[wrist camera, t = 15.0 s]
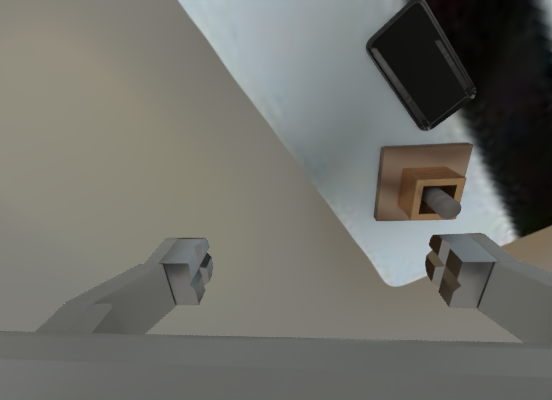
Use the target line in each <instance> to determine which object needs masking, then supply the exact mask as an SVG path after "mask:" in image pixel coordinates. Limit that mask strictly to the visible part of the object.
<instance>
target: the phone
mask: <svg viewBox="0 0 552 400" xmlns="http://www.w3.org/2000/svg"><path fill="white" fill-rule="evenodd" d="M366 51H367V53H368V54H369V56H370V57H371V59H372V60H373V62H374V63H375V65H376V66H377V67H378V69H379V70H380V72H381V73H382V75H383V76H384V78H385V79H386V81H387V82H388V83H389V85H390V86H391V88H392V89H393V91H394V92H395V94H396V95H397V96H398V98H399V99H400V101H401V102H402V104H403V105H404V107H405V108H406V109H407V111H408V112H409V114H410V115H411V117H412V118H413V120H414V121H415V123H416V124H417V125H418V127H419V128H420V129H422V130H426V131H428V130H431V129H433V128H434V127H436V126H437V125H438V124H440V123H441V122H442V121H444V120H445V119H446V118H448V117H449V116H451V115H452V114H453V113H455V112H456V111H457V110H459V109H460V108H462V107H463V106H464V105H466V104H467V103H468V102H470V101H471V100H472V99H473V98H474V97H475V95H476V87H475V85H474V84H473V82H472V80H471V79H470V77H469V75H468V73H467V72H466V70H465V68H464V66H463V65H462V63H461V61H460V60H459V58H458V56H457V54H456V53H455V51H454V49H453V47H452V46H451V44H450V42H449V41H448V39H447V37H446V35H445V34H444V32H443V30H442V28H441V27H440V25H439V23H438V21H437V20H436V18H435V16H434V15H433V13H432V11H431V9H430V8H429V6H428V4H427V2H426V1H425V0H411V1H410V2H408V3H407V4H406V6H404V7H403V8H402V9H401V10H400V11H399V12H398V13H397V14H396V15H395V16H394V17H392V18H391V19H390V20H389V21H388V22H387V23H386V24H385V25H384V26H383V27H382V28H381V29H380V30H379V31H378V32H377V33H375V34H374V35H373V36H372V37H371V38H370V39H369V41H368V42H367V45H366Z"/></svg>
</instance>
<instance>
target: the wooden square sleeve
mask: <svg viewBox="0 0 552 400" xmlns="http://www.w3.org/2000/svg"><path fill="white" fill-rule="evenodd" d="M465 181H466V178H465V177H463V176H462V175H460V174H458V173H456V172H455V171H453V170H451V169H449V168H448V167H446V166H442V167H421V168H403V171H402V178H401V185H400V193H399V200H398V205H399V207H400V208H401V209H402V210H403V211H404V213H405V214H406V215H407V216H408V217H409V219H410V220H431V219H443V218H441V217H440V216H439V215H438V214H437V213H436V212H435V211H434V210H433V209H432V208H430V207H429V206H428V205H427V204H426V203H425V202H424V201H423V200H422V199H421V197H422V192H423V186H437V187H438V188H440V189H441V190H442V191H444V192H445V193H446V194H448V195H449V196H450V197H452V198H453V199H455V200H456V201H457V202H459V203H460V201H461V197H462V193H463V189H464V185H465ZM452 219H456V217H454V218H452Z"/></svg>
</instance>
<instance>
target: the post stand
mask: <svg viewBox="0 0 552 400" xmlns="http://www.w3.org/2000/svg"><path fill="white" fill-rule="evenodd" d="M472 147H473V145H472V144H469V143H447V144H426V145H405V146H384V147H382V148H381V157H380V166H379V175H378V184H377V194H376V203H375V212H374V218H375V219H376V221H406V220H410V219H409V217H408V216H407V215H406V214H405V213H404V211H403V210H402V209H401V208H400V207H399V205H398V200H399V193H400V185H401V178H402V171H403V168H421V167H442V166H446V167H448V168H449V169H451V170H453V171H455V172H456V173H458V174H460V175H462V176H463V177H465V174H466V170H467V167H468V163H469V159H470V155H471V151H472ZM421 199H422V200H423V201H424V202H425V203H426V204H427V205H428V206H429V207H430V208H432V209H433V210H434V211H435V212H436V213H437V214H438V215H439V216H440V217H441V218H443V219H431V220H452V218H454V217H456V216H457V215H458V214H459V213H460V211H461V205H460V203H459V202H457V201H456V200H455V199H453V198H452V197H450V196H449V195H448V194H446V193H445V192H444V191H442V190H441V189H440V188H438V187H437V186H423V192H422V197H421Z"/></svg>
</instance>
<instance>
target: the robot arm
mask: <svg viewBox="0 0 552 400" xmlns="http://www.w3.org/2000/svg"><path fill="white" fill-rule="evenodd" d="M429 246H430V247H431V249H432V251H431V252H430V253H429V254H427V256H426V261H425V266H426V272H427V275H428V277H429V279H430V280H431V281H432V282H433V283H434V284H436V285H437V286H439V287H440V288H439V293H440V295H441V296H442V298H443V299H444V301H445V302H446V304H447V305H448V306H449V307H450V308H477V309H478V310H479V311H480V312H482V313H483V314H484V315H486V316H487V317H489V318H490V319H492V320H493V321H494V322H496V323H497V324H499V325H500V326H501V327H503V328H504V329H506V330H507V331H509V332H510V333H511V334H513V335H514V336H516V337H517V338H518V339H520V340H521V341H523V342H524V343H514V342H511V343H510V342H469V341H427V340H424V341H423V340H386V339H384V340H383V339H339V338H292V337H291V338H290V337H244V336H243V337H242V336H198V335H154V334H145V333H146V332H147V331H149V330H150V329H151V328H152V327H153V326H154V325H155V324H156V323H158V322H159V321H160V320H161V319H162V318H163V317H164V316H166V314H168V313H169V312H170V311H171V310H172V309H173V308H175V307H176V305H199V304H200V301H201V299H202V297H203V295H204V292H205V287H204V285H205V284H207V283H208V282H209V281H210V279H211V276H212V270H213V263H212V257H211V256H209V254H208V253H207V251H208V249H209V244H208V240H207V239H206V238H166V239H165V240H164V241H163V242H162V243H161V244H160V246H159V247H158V248H157V249H156V250H155V252H154V253H153V254H152V255H151V256H150V257H149V259H148V260H147V261H146V262H145V263H144V264H139V265H137V266H135V267H133V268H131V269H129V270H127V271H126V272H123V273H121V274H119V275H117V276H116V277H114V278H112V279H110V280H108V281H106V282H104V283H102V284H101V285H98V286H96V287H94V288H92V289H90V290H88V291H87V292H85V293H83V294H81V295H79V296H77V297H75V298H73V299H71V300H69V301H67V302H66V303H65V304H63V306H61V307H60V308H59V309H58V310H57V311H56V312H55V313H54V314H53V315H52V316H51V317H50V318H49V319H48V320H47V321H46V322H45V323H44V324H42V325H41V326H40V327H39V328H38V329H37V330H36V331H35V332H23V331H22V332H21V331H0V400H552V272H549V271H546V270H544V269H541V268H539V267H536V266H533V265H531V264H528V263H526V262H519V261H517V260H516V259H515V258H514V257H512V256H511V255H510V254H509V253H507V252H506V251H505V250H503V249H502V248H501V247H500V246H499V245H497V244H496V243H495V242H494V241H492V240H491V239H490V238H489V237H487V236H486V235H485V234H482V233H467V234H444V235H433V236H432V237H431V239H430V242H429Z"/></svg>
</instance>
